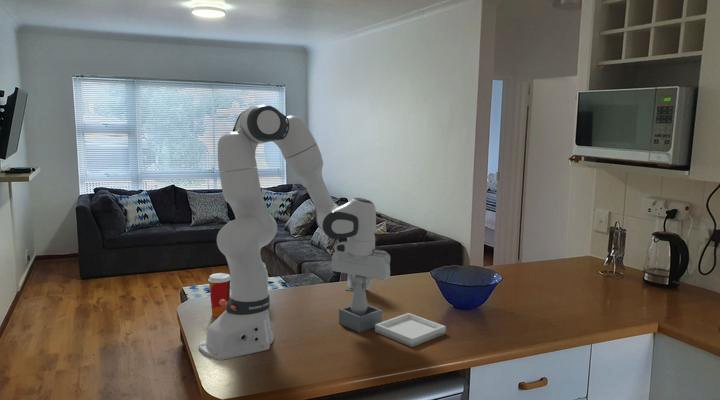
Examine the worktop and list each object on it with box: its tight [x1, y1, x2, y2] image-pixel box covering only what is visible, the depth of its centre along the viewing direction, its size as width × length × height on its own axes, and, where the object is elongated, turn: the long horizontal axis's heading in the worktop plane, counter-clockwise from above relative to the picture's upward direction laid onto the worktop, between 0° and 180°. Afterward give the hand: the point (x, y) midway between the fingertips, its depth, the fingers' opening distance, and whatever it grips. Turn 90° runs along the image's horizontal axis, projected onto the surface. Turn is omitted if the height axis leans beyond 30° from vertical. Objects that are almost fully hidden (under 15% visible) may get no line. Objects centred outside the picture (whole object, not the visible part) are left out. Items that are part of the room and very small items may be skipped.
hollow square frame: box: [338, 304, 383, 333], centre depth 184 cm, size 10×10×5 cm
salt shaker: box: [349, 275, 369, 316], centre depth 182 cm, size 6×6×13 cm
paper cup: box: [207, 272, 231, 319], centre depth 190 cm, size 8×8×14 cm
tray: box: [374, 312, 447, 348], centre depth 177 cm, size 16×16×2 cm
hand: (359, 288), depth 182 cm, fingers closed on salt shaker, 3 cm apart
